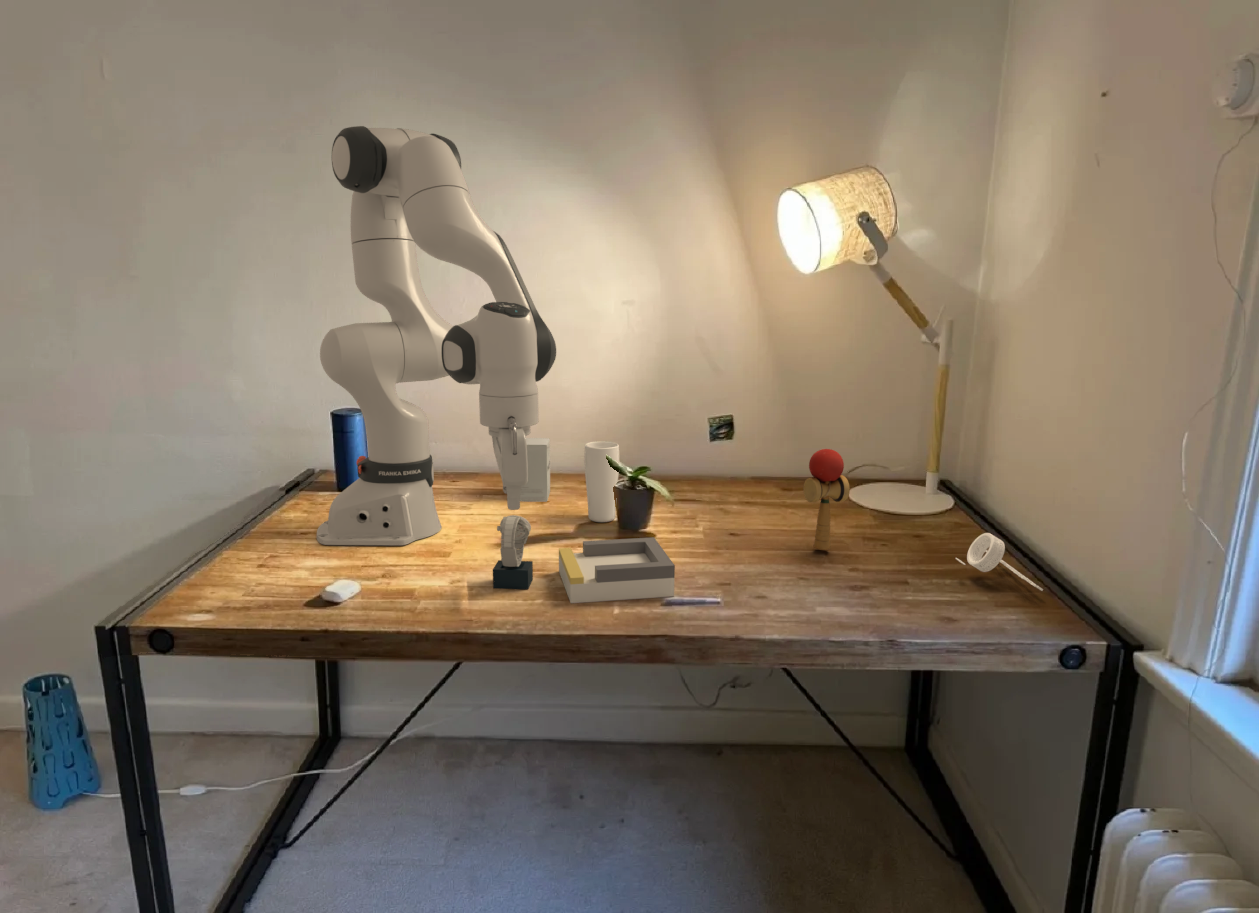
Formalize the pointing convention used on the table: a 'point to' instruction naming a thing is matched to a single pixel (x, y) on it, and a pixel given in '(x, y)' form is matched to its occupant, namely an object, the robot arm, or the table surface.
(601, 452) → the white vase
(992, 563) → the wheel on axle
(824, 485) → the kendama
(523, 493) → the supplement box
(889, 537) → the table surface
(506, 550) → the watch
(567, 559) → the dock
